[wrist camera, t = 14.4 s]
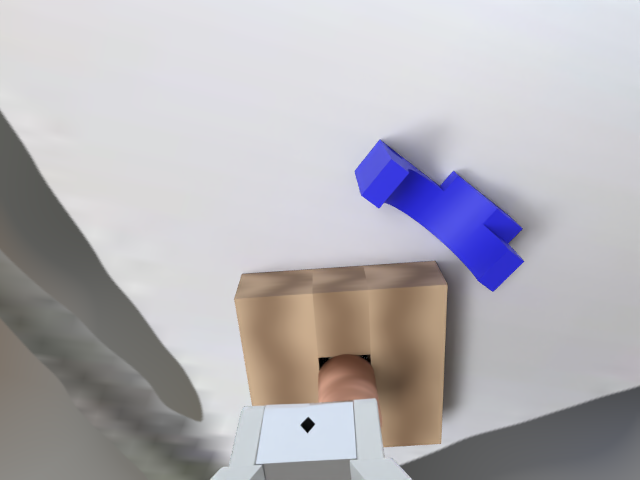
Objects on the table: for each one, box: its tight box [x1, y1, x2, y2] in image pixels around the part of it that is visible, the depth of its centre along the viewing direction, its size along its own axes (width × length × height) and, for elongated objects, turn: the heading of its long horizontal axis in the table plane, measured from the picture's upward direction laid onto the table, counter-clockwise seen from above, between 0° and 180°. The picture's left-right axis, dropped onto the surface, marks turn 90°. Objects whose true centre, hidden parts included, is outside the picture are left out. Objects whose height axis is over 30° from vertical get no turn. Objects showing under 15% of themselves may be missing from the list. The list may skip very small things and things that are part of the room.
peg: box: [318, 354, 382, 428], centre depth 38 cm, size 5×5×8 cm
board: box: [234, 261, 447, 447], centre depth 41 cm, size 16×16×4 cm
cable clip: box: [355, 140, 524, 292], centre depth 34 cm, size 12×4×6 cm, turn 53°
